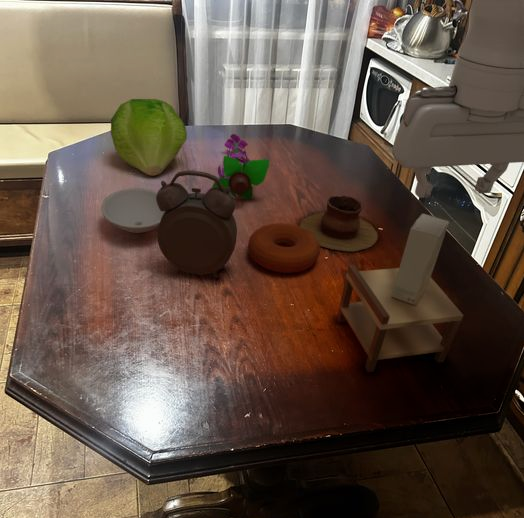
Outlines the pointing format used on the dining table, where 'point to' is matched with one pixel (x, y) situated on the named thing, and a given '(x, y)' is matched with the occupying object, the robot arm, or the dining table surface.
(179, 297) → the dining table surface
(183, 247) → the alarm clock
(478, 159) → the robot arm
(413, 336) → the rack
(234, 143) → the potted plant
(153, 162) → the lettuce
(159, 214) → the dish
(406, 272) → the cosmetic box
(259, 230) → the donut
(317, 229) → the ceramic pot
